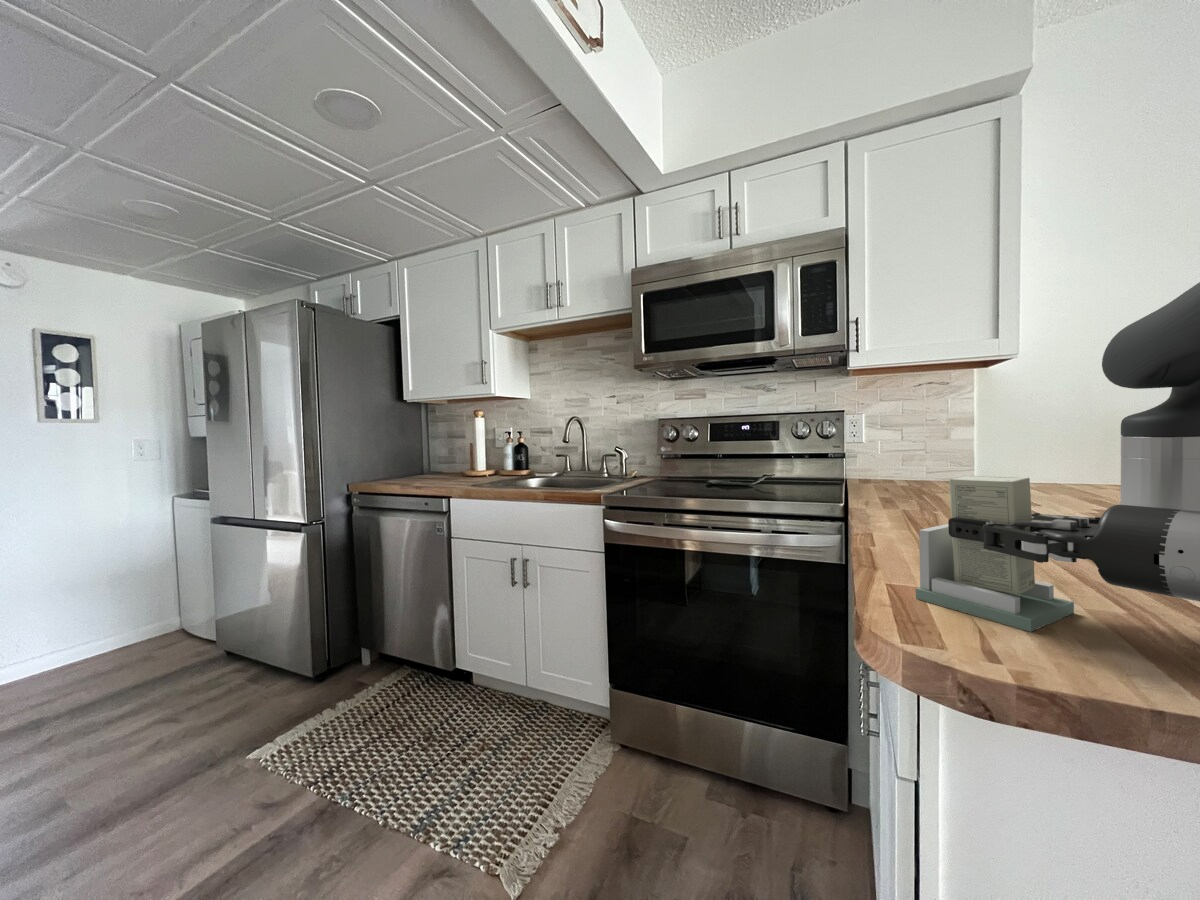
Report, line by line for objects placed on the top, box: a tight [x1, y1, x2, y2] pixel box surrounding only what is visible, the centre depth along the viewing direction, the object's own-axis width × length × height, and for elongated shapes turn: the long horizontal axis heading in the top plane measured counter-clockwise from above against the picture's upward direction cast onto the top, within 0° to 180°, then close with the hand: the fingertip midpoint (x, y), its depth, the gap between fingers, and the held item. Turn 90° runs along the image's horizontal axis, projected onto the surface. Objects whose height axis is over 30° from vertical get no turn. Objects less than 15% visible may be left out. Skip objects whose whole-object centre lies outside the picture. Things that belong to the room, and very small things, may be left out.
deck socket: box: [915, 523, 1075, 633], centre depth 54 cm, size 9×11×8 cm
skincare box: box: [948, 475, 1036, 595], centre depth 54 cm, size 6×4×12 cm
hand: (963, 523), depth 56 cm, fingers closed on skincare box, 4 cm apart
